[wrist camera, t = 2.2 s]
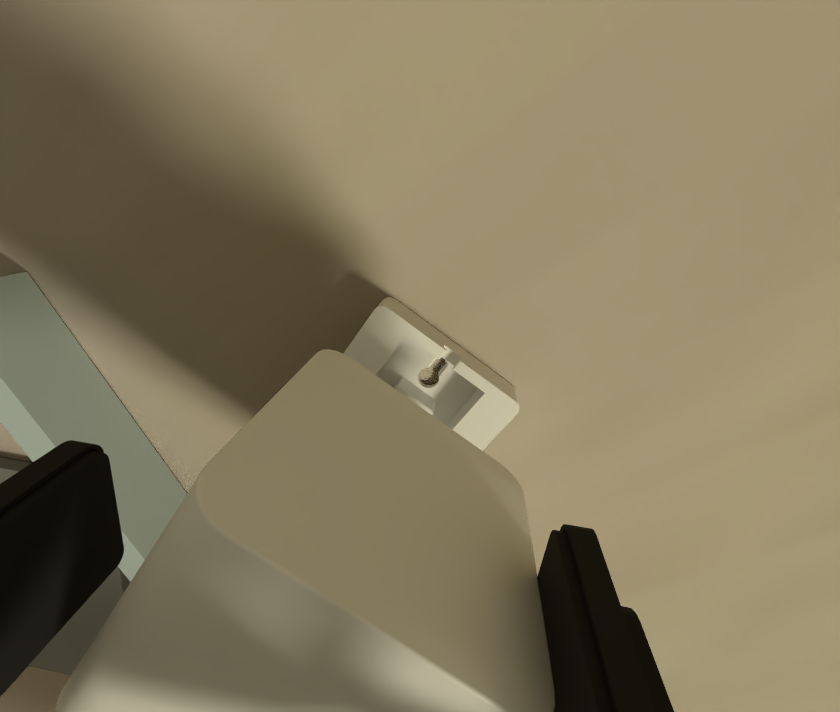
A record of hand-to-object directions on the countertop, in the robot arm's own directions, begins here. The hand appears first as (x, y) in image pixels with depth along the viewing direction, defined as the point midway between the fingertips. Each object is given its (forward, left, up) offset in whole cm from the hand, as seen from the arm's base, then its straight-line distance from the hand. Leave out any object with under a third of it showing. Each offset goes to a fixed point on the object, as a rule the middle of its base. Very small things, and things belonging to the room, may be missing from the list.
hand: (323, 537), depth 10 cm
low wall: (-6, +8, -7) cm, 12 cm away
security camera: (-1, 0, -7) cm, 7 cm away
